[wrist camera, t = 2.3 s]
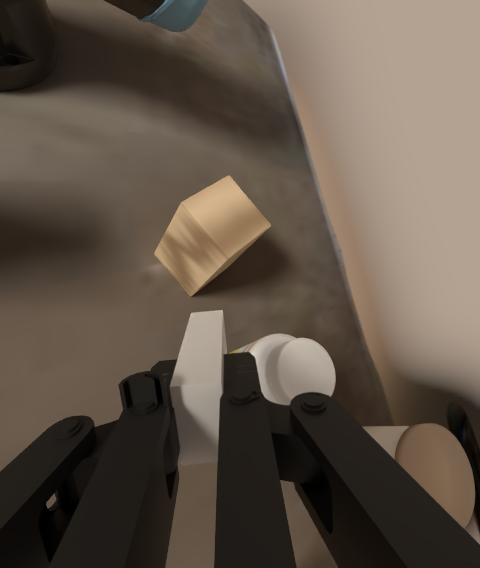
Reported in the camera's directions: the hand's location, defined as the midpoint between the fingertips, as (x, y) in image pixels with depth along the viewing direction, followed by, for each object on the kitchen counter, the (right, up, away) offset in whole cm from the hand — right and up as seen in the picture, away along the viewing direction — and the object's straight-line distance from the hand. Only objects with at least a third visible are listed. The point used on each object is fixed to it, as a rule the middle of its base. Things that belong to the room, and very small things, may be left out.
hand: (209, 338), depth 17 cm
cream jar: (+11, -16, +20) cm, 28 cm away
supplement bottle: (+1, -8, +19) cm, 20 cm away
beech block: (-4, +5, +22) cm, 23 cm away
